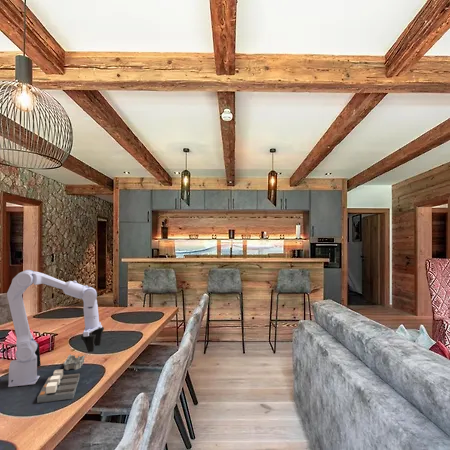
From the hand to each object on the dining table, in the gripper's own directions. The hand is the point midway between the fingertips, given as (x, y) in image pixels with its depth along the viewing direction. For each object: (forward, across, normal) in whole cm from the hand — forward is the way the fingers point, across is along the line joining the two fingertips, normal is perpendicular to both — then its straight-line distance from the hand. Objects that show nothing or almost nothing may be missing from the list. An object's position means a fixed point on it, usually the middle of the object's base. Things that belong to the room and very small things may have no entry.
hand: (94, 348), depth 149 cm
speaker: (+8, +6, +32) cm, 33 cm away
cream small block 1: (+7, -17, +9) cm, 20 cm away
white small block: (+7, -11, +11) cm, 17 cm away
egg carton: (+10, +9, +13) cm, 19 cm away
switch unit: (+9, -16, +8) cm, 20 cm away
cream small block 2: (+7, -23, +7) cm, 25 cm away
